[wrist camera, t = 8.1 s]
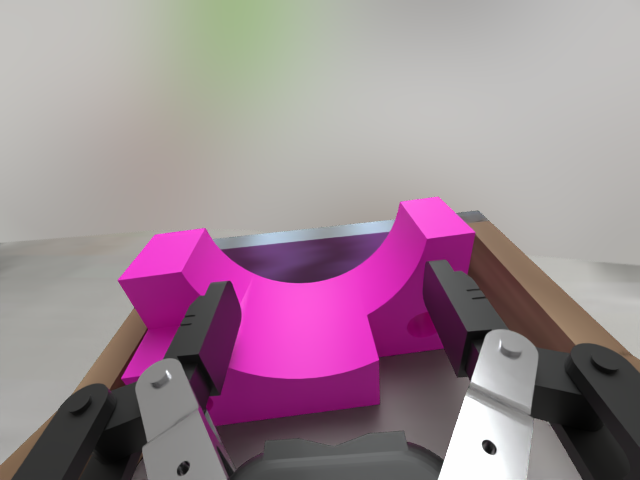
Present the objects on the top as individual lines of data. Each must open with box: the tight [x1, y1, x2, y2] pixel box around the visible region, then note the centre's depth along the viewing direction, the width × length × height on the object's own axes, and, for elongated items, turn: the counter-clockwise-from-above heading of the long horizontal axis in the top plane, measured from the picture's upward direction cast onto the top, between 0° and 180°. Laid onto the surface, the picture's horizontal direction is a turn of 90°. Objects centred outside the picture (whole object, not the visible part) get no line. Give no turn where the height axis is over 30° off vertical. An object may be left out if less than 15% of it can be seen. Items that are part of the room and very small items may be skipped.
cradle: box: [0, 211, 640, 480], centre depth 15 cm, size 24×16×4 cm, turn 91°
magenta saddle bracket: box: [118, 197, 476, 426], centre depth 15 cm, size 15×6×8 cm, turn 94°
